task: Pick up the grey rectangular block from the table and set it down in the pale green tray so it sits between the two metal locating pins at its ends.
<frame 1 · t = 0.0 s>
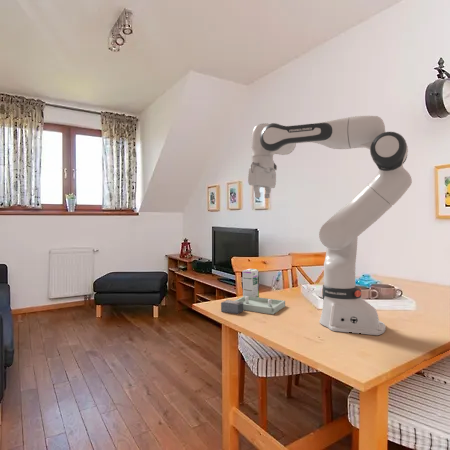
hand: (262, 197, 137), 48 cm above the table, tool pointing down, fingers open, 8 cm apart
syrup box: (250, 299, 160), on the table
grey rectangular block: (232, 311, 140), on the table
tray: (258, 307, 146), on the table
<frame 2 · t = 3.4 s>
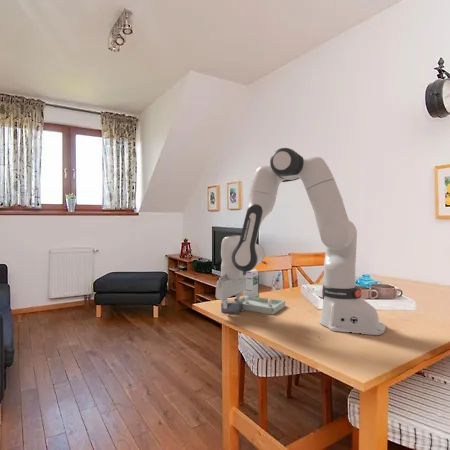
hand: (231, 305, 140), 2 cm above the table, tool pointing down, fingers open, 8 cm apart
nothing on the table moved.
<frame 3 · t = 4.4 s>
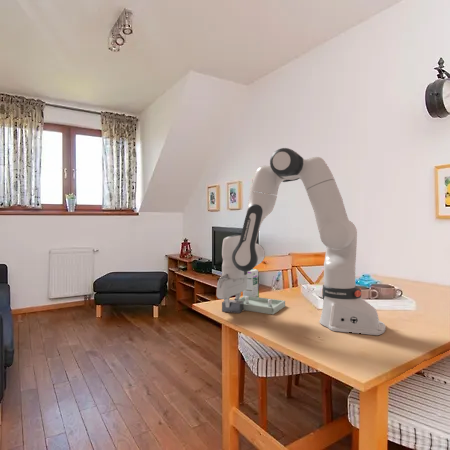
hand: (232, 304, 141), 2 cm above the table, tool pointing down, fingers open, 6 cm apart
grey rectangular block: (232, 310, 140), on the table, touching gripper
everything else where it was.
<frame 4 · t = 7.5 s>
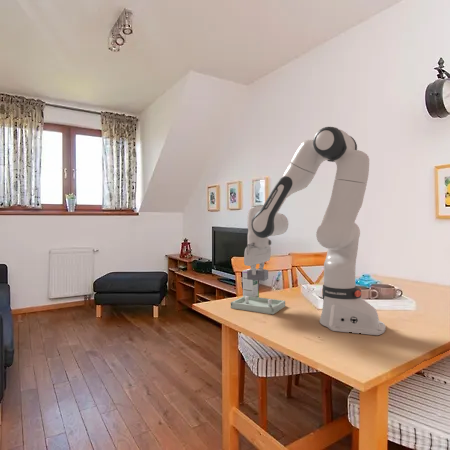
hand: (257, 273, 145), 15 cm above the table, tool pointing down, fingers closed on grey rectangular block, 5 cm apart
grey rectangular block: (257, 279, 145), point 12 cm above the table, touching gripper
everything else where it was.
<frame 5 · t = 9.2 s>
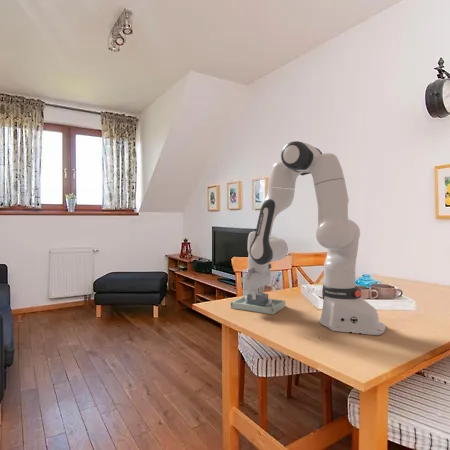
hand: (257, 297, 145), 4 cm above the table, tool pointing down, fingers closed on grey rectangular block, 5 cm apart
grey rectangular block: (257, 303, 145), point 2 cm above the table, touching gripper
everything else where it was.
when the fingers open (4 cm above the table, at t = 10.2 s): grey rectangular block stays where it is, resting on tray.
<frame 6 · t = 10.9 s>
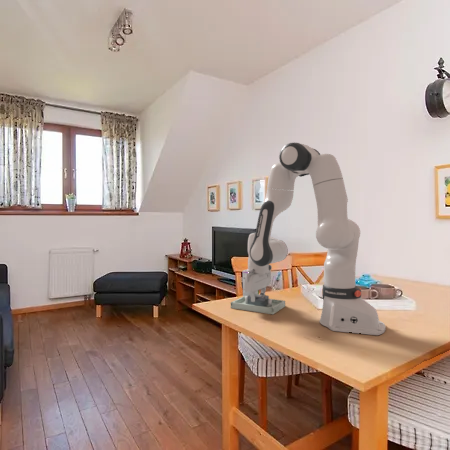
hand: (258, 299, 145), 4 cm above the table, tool pointing down, fingers open, 8 cm apart
grey rectangular block: (258, 304, 145), point 1 cm above the table, touching tray
everything else where it was.
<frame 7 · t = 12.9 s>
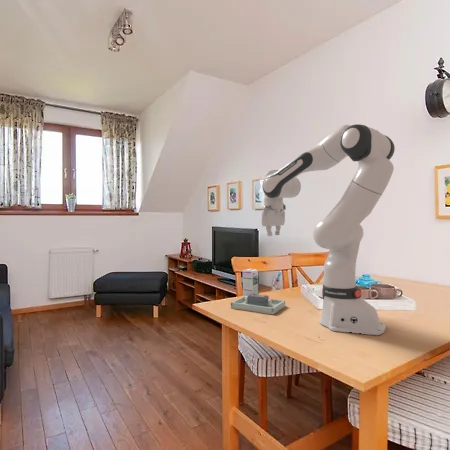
hand: (273, 235, 153), 31 cm above the table, tool pointing down, fingers open, 8 cm apart
nothing on the table moved.
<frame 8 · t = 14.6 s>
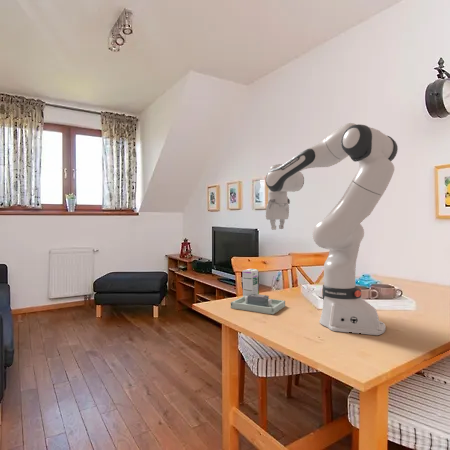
hand: (277, 229, 155), 34 cm above the table, tool pointing down, fingers open, 8 cm apart
nothing on the table moved.
at the end: grey rectangular block 0.0 cm off-centre on the tray, point 1.0 cm above the tray's base; grey rectangular block tilted 0°; the gripper is holding nothing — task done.
